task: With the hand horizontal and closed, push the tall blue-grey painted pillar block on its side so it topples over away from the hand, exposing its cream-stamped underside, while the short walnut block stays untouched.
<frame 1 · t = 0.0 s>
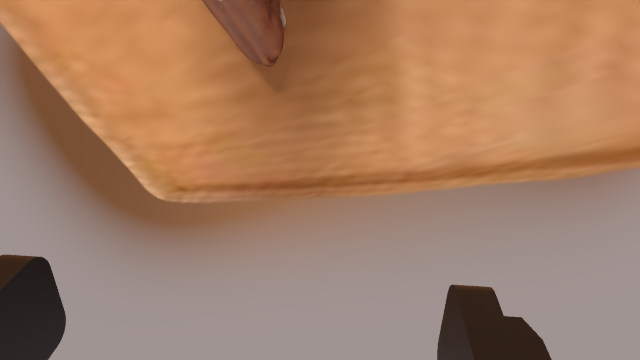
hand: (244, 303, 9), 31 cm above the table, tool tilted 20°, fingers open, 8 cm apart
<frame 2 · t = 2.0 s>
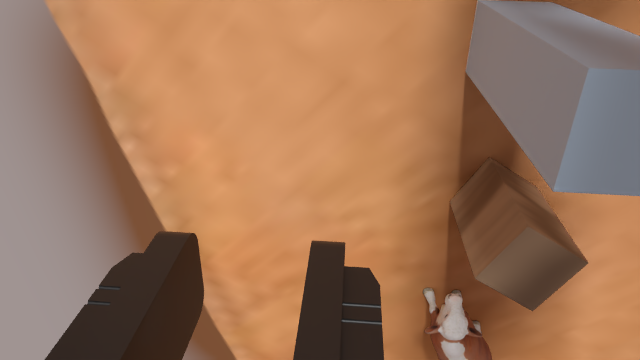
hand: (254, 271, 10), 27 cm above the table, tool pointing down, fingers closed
bluegrey block: (506, 38, 33), on the table
walnut block: (492, 194, 39), on the table
bull figurine: (451, 306, 46), on the table
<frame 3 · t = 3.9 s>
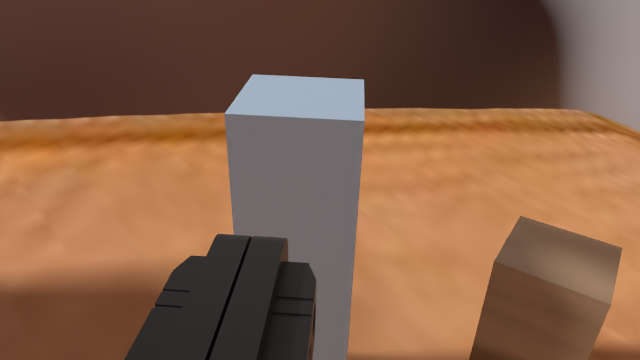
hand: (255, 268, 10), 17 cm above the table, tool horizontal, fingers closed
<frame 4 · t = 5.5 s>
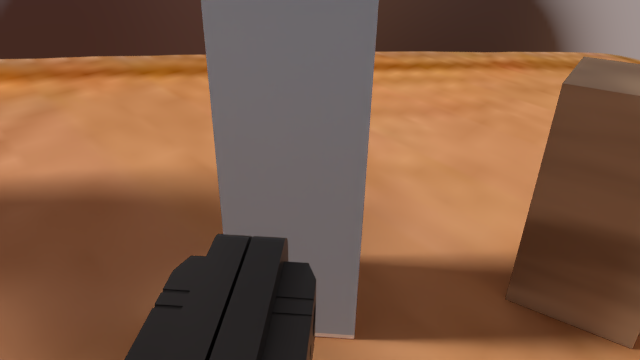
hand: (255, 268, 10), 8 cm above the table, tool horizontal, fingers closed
bluegrey block: (299, 293, 21), on the table
walnut block: (574, 290, 22), on the table
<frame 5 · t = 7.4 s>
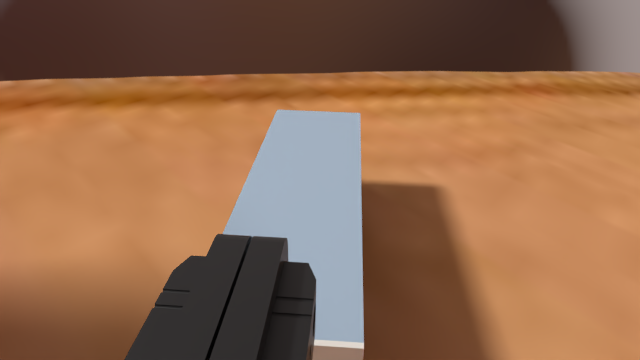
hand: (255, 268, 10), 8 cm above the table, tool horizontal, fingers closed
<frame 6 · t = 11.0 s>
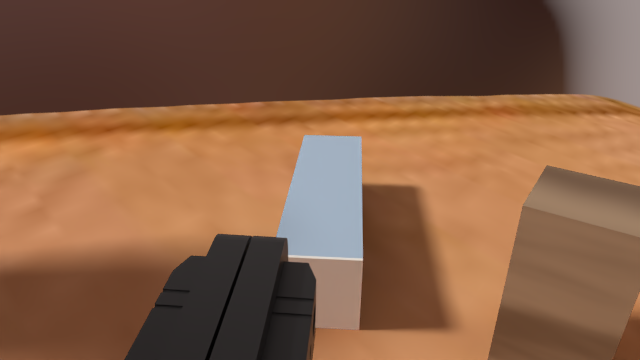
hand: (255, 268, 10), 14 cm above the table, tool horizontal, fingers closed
bluegrey block: (316, 294, 27), point 2 cm above the table, tilted 90°
walnut block: (545, 358, 26), on the table
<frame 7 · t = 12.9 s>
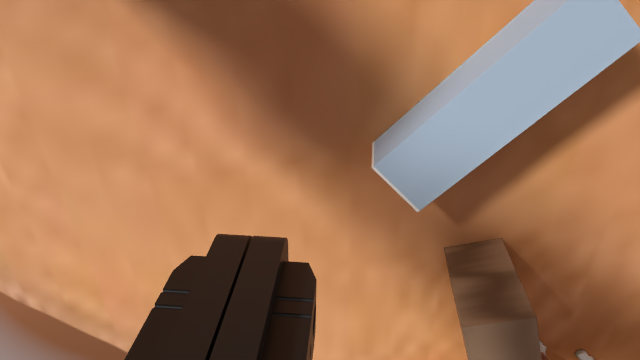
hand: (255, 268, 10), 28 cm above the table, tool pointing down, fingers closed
bluegrey block: (393, 176, 37), point 2 cm above the table, tilted 90°
walnut block: (476, 265, 43), on the table
bull figurine: (546, 352, 46), on the table
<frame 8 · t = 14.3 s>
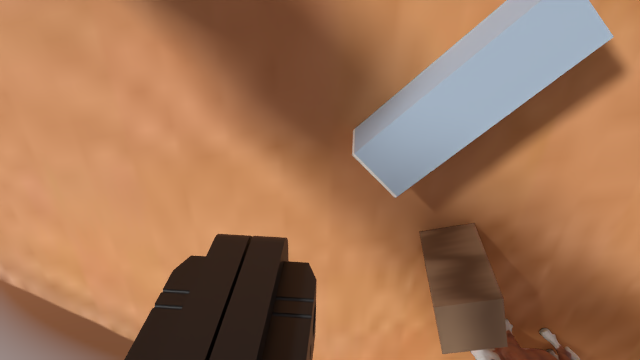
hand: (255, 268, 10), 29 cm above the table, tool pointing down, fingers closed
bluegrey block: (373, 162, 38), point 2 cm above the table, tilted 90°
walnut block: (449, 248, 45), on the table
bull figurine: (512, 330, 49), on the table
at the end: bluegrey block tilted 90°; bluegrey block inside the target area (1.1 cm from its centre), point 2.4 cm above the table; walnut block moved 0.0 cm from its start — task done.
